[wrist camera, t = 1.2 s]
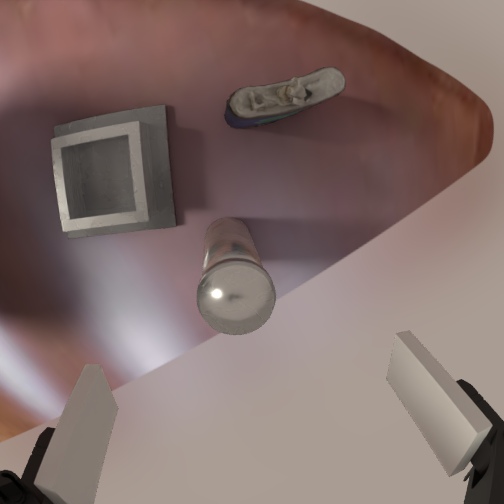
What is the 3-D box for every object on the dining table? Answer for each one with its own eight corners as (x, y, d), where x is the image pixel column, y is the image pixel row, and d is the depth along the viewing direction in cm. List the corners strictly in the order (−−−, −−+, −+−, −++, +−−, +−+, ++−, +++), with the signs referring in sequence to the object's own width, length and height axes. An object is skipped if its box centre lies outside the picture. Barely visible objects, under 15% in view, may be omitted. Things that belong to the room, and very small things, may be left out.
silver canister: (205, 264, 33) (201, 340, 20) (200, 217, 32) (191, 269, 19) (253, 260, 34) (278, 333, 21) (250, 213, 32) (276, 261, 19)
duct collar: (71, 236, 31) (52, 251, 26) (57, 126, 27) (34, 125, 22) (176, 224, 32) (170, 238, 27) (166, 105, 28) (157, 98, 23)
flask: (309, 82, 29) (350, 57, 19) (318, 109, 30) (363, 96, 20) (220, 108, 29) (222, 89, 19) (230, 136, 30) (237, 131, 20)
